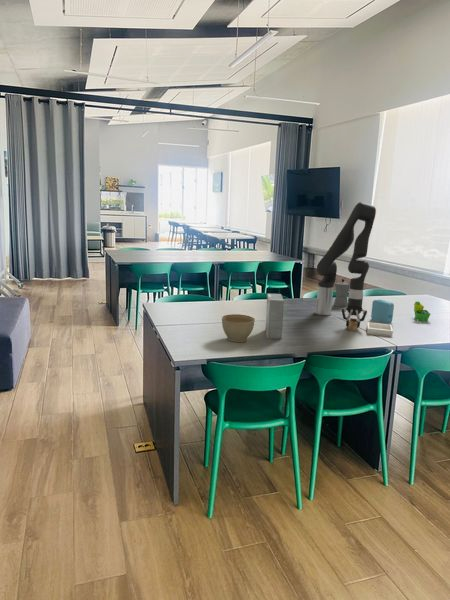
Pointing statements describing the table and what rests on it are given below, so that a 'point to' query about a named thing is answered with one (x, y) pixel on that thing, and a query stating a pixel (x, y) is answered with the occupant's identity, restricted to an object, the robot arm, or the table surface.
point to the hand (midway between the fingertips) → (352, 327)
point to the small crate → (352, 324)
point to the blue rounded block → (382, 311)
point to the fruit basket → (420, 312)
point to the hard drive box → (274, 316)
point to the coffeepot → (341, 293)
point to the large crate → (379, 329)
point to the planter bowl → (237, 326)
